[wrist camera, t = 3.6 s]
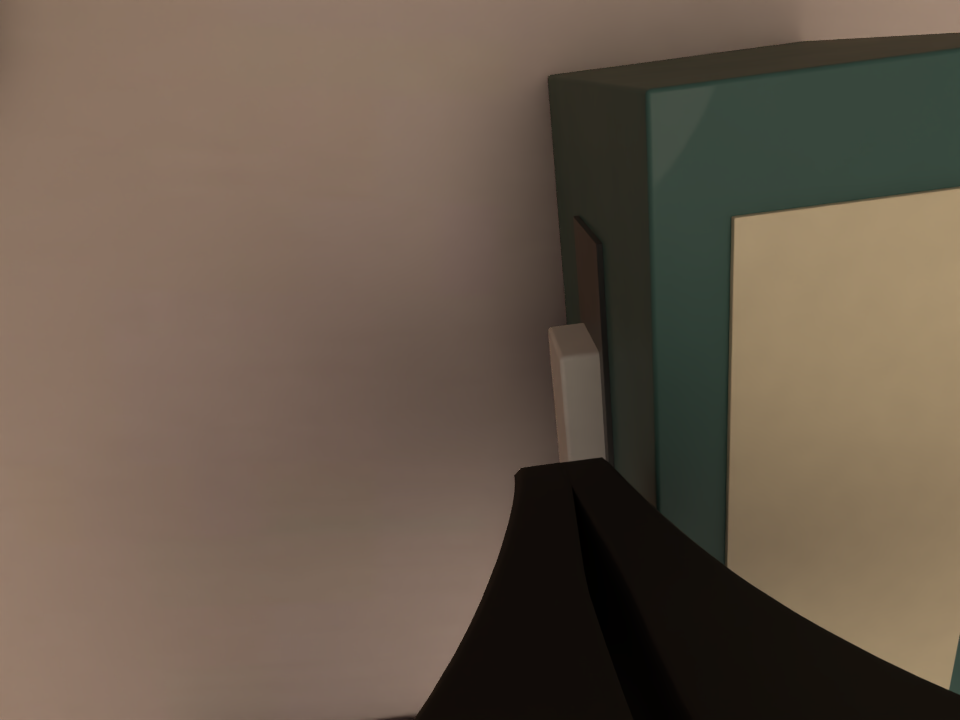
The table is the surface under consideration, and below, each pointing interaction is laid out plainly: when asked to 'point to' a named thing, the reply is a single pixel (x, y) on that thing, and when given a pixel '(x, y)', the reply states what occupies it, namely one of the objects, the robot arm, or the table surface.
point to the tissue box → (777, 319)
